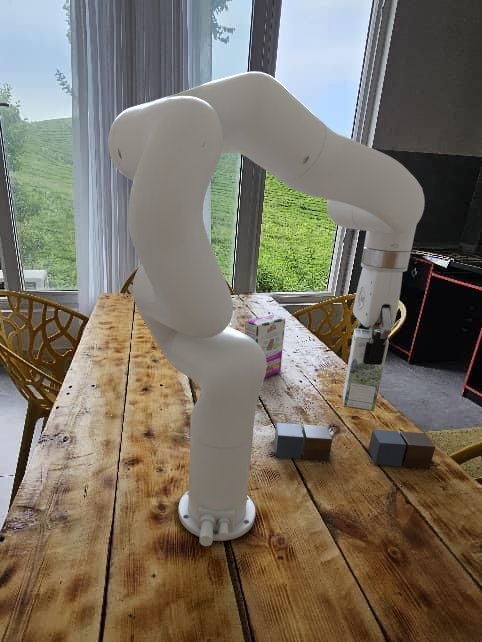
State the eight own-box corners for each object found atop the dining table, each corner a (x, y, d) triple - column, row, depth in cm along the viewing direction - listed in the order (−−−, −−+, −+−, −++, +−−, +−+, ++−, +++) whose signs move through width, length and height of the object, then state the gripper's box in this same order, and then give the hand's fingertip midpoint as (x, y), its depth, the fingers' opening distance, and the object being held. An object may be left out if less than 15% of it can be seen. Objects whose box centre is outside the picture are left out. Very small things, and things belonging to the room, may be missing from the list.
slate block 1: (300, 458, 88) (303, 437, 86) (275, 456, 89) (278, 435, 87) (297, 444, 93) (300, 424, 91) (273, 443, 93) (276, 422, 91)
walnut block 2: (429, 468, 87) (435, 446, 85) (403, 466, 87) (408, 444, 85) (420, 454, 91) (425, 433, 90) (395, 452, 92) (400, 431, 90)
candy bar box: (267, 367, 131) (273, 313, 125) (280, 372, 128) (286, 318, 122) (240, 376, 125) (245, 320, 118) (253, 382, 121) (258, 325, 115)
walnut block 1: (328, 460, 88) (332, 439, 86) (303, 459, 88) (306, 437, 86) (324, 446, 93) (327, 426, 91) (300, 445, 93) (303, 424, 91)
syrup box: (371, 399, 88) (385, 330, 83) (374, 413, 83) (389, 339, 78) (342, 395, 90) (354, 326, 84) (342, 408, 84) (355, 335, 79)
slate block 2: (401, 466, 87) (406, 444, 85) (375, 464, 87) (379, 442, 86) (392, 451, 92) (397, 431, 90) (368, 450, 92) (372, 429, 90)
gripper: (350, 251, 84) (336, 339, 91) (377, 267, 68) (357, 373, 75) (391, 253, 84) (373, 342, 90) (427, 269, 68) (403, 376, 74)
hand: (366, 355), depth 83 cm, fingers closed on syrup box, 6 cm apart
